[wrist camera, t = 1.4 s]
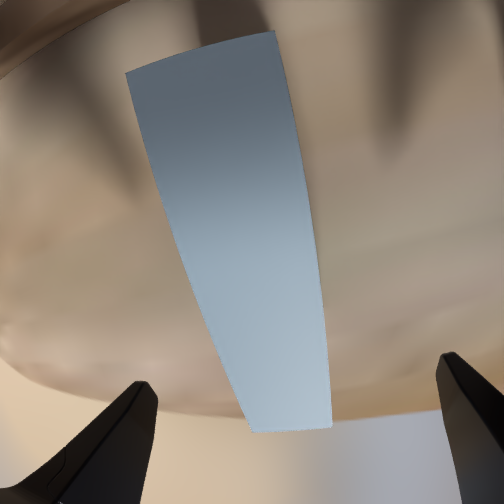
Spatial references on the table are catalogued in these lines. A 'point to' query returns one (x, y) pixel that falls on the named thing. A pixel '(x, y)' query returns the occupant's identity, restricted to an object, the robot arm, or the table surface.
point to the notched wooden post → (41, 25)
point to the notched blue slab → (242, 220)
